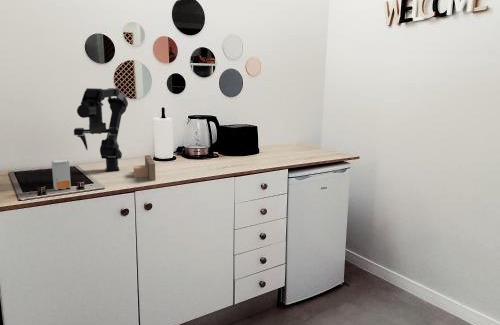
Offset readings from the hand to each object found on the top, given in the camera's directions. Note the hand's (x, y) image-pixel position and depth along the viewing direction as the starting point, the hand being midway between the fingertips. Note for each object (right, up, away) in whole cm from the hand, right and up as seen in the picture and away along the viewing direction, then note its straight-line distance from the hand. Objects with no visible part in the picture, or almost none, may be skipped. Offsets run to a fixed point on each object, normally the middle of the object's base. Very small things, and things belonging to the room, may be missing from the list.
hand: (97, 149), depth 171 cm
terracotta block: (+18, -13, +6) cm, 23 cm away
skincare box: (-7, -17, -19) cm, 26 cm away
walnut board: (+23, -12, +7) cm, 27 cm away
